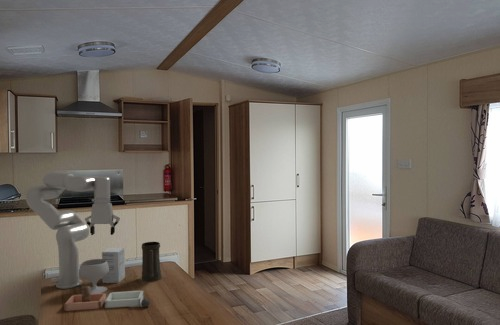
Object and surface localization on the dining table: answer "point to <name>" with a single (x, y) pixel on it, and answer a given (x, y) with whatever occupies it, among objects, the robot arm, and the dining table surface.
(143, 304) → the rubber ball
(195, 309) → the dining table surface
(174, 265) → the dining table surface
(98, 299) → the terracotta tub
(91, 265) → the chalice
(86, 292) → the walnut peg
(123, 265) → the supplement box
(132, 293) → the grey tub
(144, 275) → the beer stein
